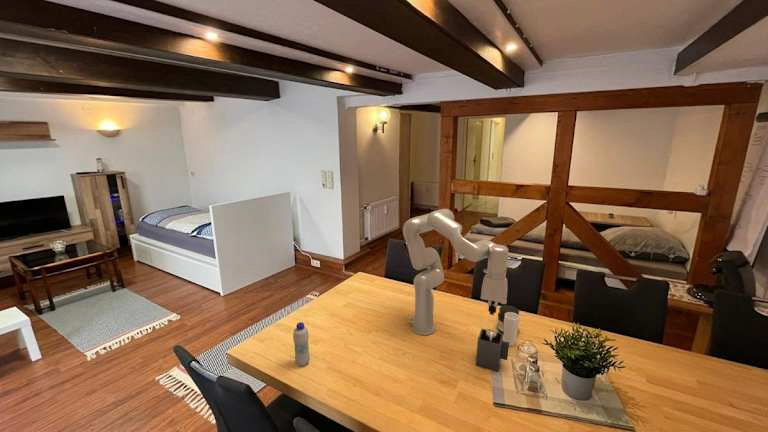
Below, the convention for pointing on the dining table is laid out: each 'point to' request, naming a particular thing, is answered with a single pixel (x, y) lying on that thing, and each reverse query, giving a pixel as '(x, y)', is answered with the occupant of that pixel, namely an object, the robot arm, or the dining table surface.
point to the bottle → (301, 344)
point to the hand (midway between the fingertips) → (491, 313)
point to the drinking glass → (510, 327)
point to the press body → (491, 351)
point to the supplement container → (501, 315)
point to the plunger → (491, 334)
